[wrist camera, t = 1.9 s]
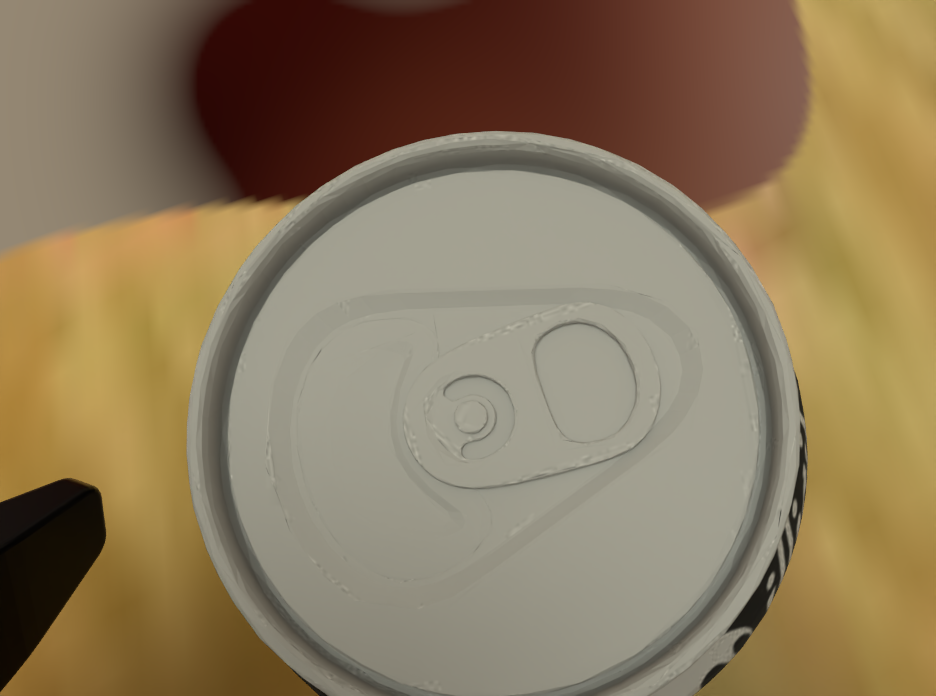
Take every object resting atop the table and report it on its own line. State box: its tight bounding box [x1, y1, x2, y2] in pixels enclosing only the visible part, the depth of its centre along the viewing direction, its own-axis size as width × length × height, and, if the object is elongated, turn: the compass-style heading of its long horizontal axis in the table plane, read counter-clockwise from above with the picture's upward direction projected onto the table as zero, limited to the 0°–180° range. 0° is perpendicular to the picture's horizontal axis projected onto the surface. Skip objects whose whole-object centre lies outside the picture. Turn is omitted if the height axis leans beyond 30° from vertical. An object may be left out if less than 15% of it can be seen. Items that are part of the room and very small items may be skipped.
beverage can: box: [187, 131, 807, 696], centre depth 14 cm, size 7×7×12 cm
